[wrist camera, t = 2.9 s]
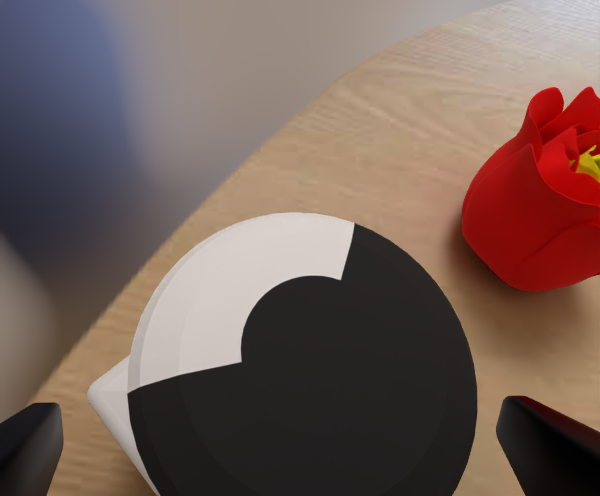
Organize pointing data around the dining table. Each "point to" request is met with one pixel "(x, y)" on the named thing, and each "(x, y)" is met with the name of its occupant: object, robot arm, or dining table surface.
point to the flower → (541, 197)
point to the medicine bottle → (295, 369)
